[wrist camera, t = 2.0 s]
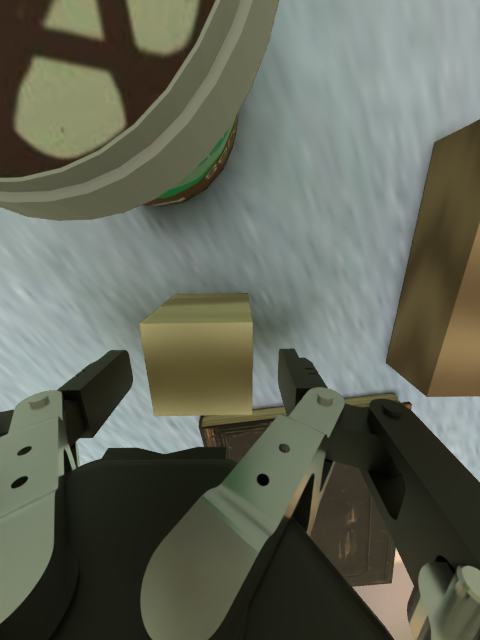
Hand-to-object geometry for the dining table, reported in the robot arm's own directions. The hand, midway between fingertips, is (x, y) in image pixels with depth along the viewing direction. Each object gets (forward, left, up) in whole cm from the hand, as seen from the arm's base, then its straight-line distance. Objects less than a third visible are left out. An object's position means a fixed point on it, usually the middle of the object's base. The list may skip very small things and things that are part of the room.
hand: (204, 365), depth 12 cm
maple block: (0, 0, -5) cm, 5 cm away
